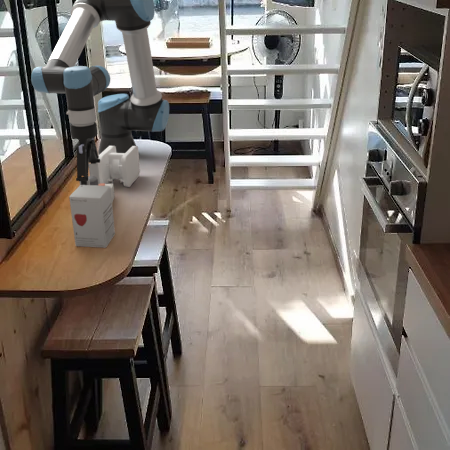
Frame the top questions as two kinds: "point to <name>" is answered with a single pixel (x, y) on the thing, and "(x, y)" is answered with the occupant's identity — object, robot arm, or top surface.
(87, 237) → the supplement box
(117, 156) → the cable organizer
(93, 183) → the plug
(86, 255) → the top surface
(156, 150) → the top surface
